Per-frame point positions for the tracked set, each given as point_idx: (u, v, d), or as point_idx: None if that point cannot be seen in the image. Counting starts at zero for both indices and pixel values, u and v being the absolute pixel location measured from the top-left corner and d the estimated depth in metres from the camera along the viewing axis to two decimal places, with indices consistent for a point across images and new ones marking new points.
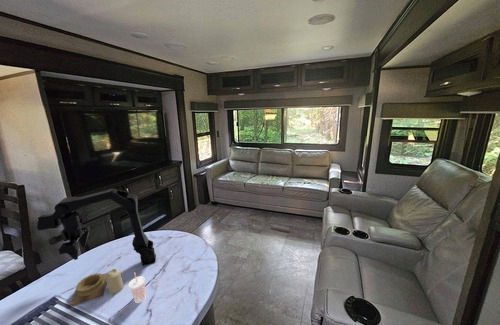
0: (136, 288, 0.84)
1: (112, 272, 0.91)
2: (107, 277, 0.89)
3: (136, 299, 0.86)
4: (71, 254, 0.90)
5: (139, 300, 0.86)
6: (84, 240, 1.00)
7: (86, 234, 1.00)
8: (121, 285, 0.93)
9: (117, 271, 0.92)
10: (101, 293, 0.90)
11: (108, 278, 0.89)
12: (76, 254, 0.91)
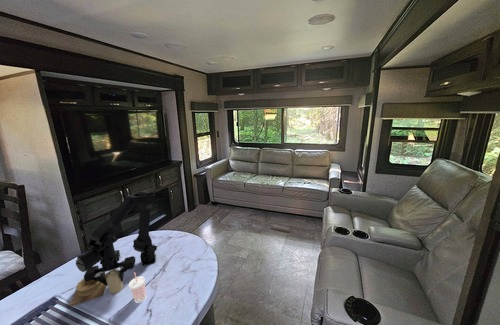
0: (136, 288, 0.84)
1: (112, 272, 0.91)
2: (107, 277, 0.89)
3: (136, 299, 0.86)
4: None
5: (139, 300, 0.86)
6: None
7: None
8: (121, 285, 0.93)
9: (117, 271, 0.92)
10: (101, 293, 0.90)
11: (108, 278, 0.89)
12: None
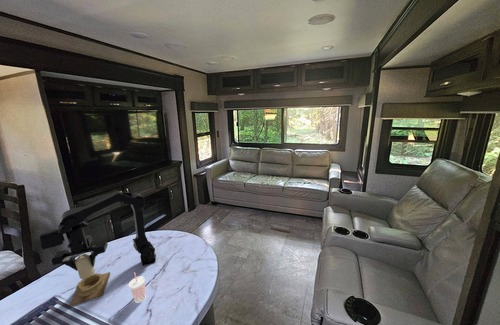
0: (136, 288, 0.84)
1: (82, 257, 0.90)
2: (76, 261, 0.87)
3: (136, 299, 0.86)
4: None
5: (139, 300, 0.86)
6: None
7: None
8: (92, 270, 0.91)
9: (87, 256, 0.90)
10: (101, 293, 0.90)
11: (78, 262, 0.87)
12: None
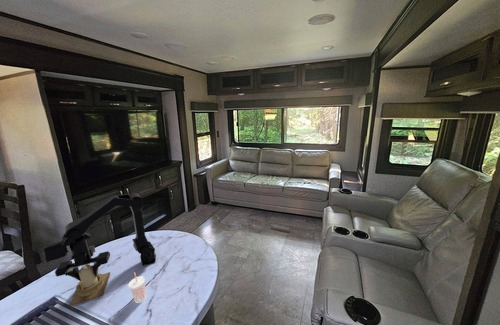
0: (136, 288, 0.84)
1: (85, 267, 0.91)
2: (80, 272, 0.89)
3: (136, 299, 0.86)
4: None
5: (139, 300, 0.86)
6: None
7: None
8: (95, 280, 0.93)
9: (91, 266, 0.92)
10: (101, 293, 0.90)
11: (81, 273, 0.89)
12: None
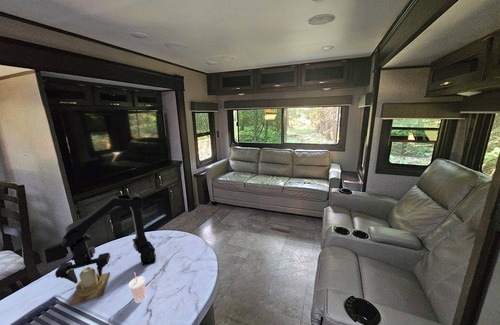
0: (136, 288, 0.84)
1: (86, 270, 0.92)
2: (81, 275, 0.89)
3: (136, 299, 0.86)
4: None
5: (139, 300, 0.86)
6: None
7: None
8: None
9: (92, 269, 0.92)
10: (101, 293, 0.90)
11: (82, 276, 0.89)
12: None
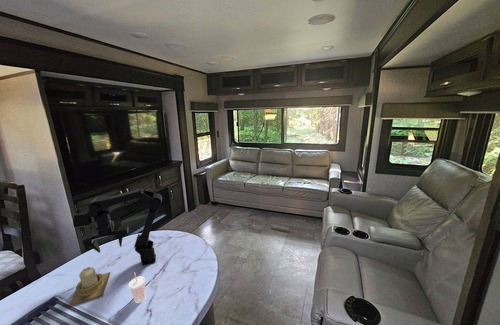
0: (136, 288, 0.84)
1: (86, 270, 0.92)
2: (81, 275, 0.89)
3: (136, 299, 0.86)
4: None
5: (139, 300, 0.86)
6: (119, 241, 1.02)
7: None
8: None
9: (91, 269, 0.92)
10: (101, 293, 0.90)
11: (82, 276, 0.89)
12: None
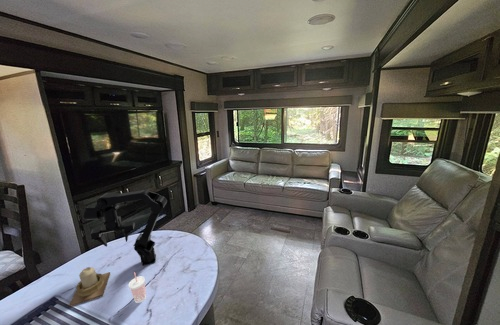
0: (136, 288, 0.84)
1: (86, 270, 0.92)
2: (81, 275, 0.89)
3: (136, 299, 0.86)
4: None
5: (139, 300, 0.86)
6: (125, 236, 1.06)
7: None
8: None
9: (91, 269, 0.92)
10: (101, 293, 0.90)
11: (82, 276, 0.89)
12: None
